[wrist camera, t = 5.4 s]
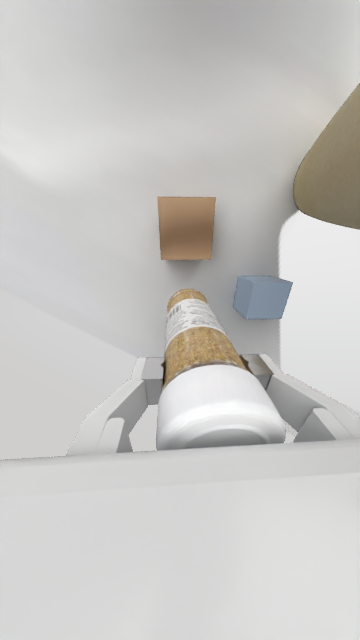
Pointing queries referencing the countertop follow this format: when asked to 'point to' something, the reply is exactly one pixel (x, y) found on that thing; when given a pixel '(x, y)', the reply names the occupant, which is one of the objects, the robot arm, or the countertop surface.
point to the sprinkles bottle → (209, 385)
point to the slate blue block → (261, 296)
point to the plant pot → (333, 170)
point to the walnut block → (186, 227)
